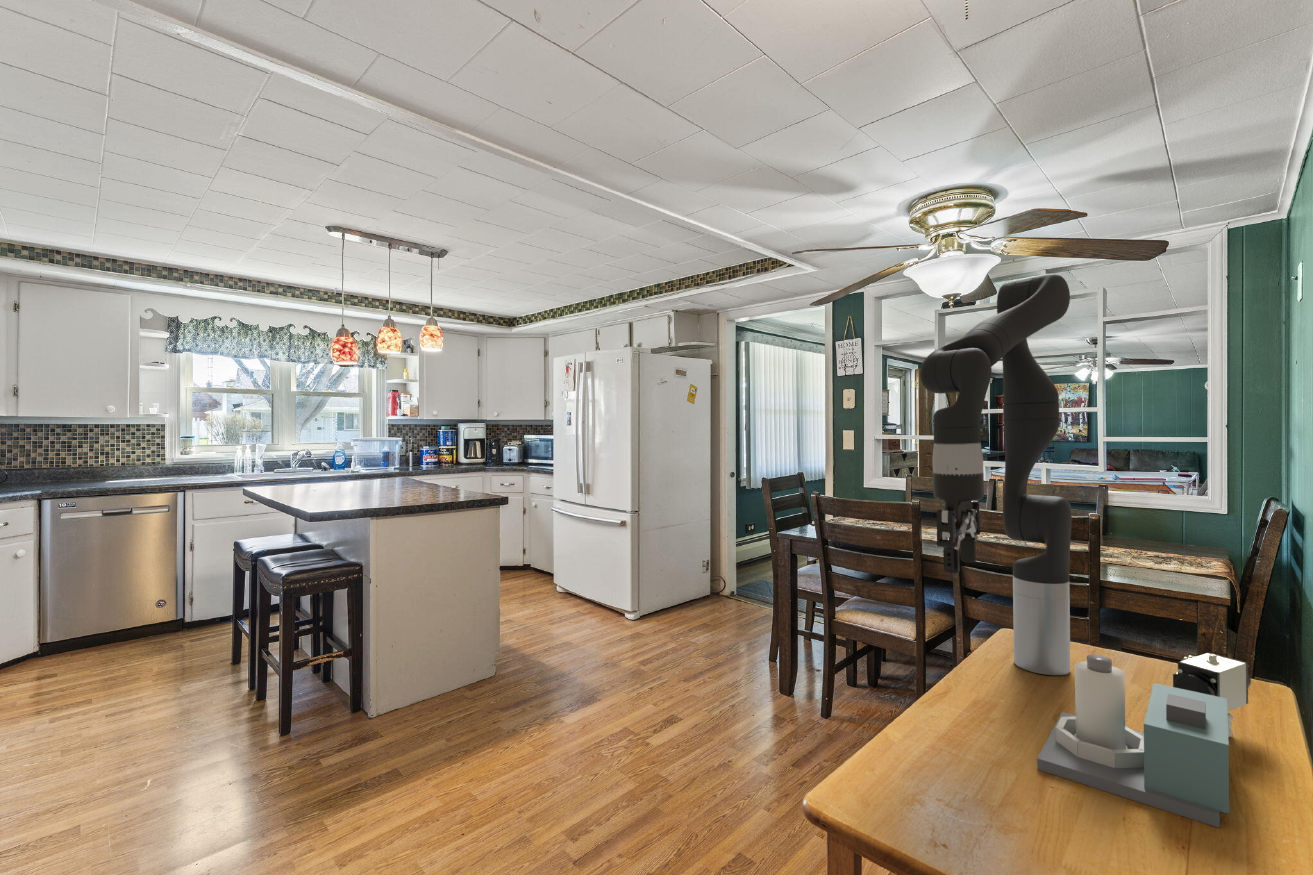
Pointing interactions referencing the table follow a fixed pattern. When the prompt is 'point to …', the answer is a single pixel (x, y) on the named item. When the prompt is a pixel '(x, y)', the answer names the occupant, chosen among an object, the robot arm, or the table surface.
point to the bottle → (1100, 703)
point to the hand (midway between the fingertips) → (960, 567)
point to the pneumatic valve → (1215, 679)
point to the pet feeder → (1155, 756)
